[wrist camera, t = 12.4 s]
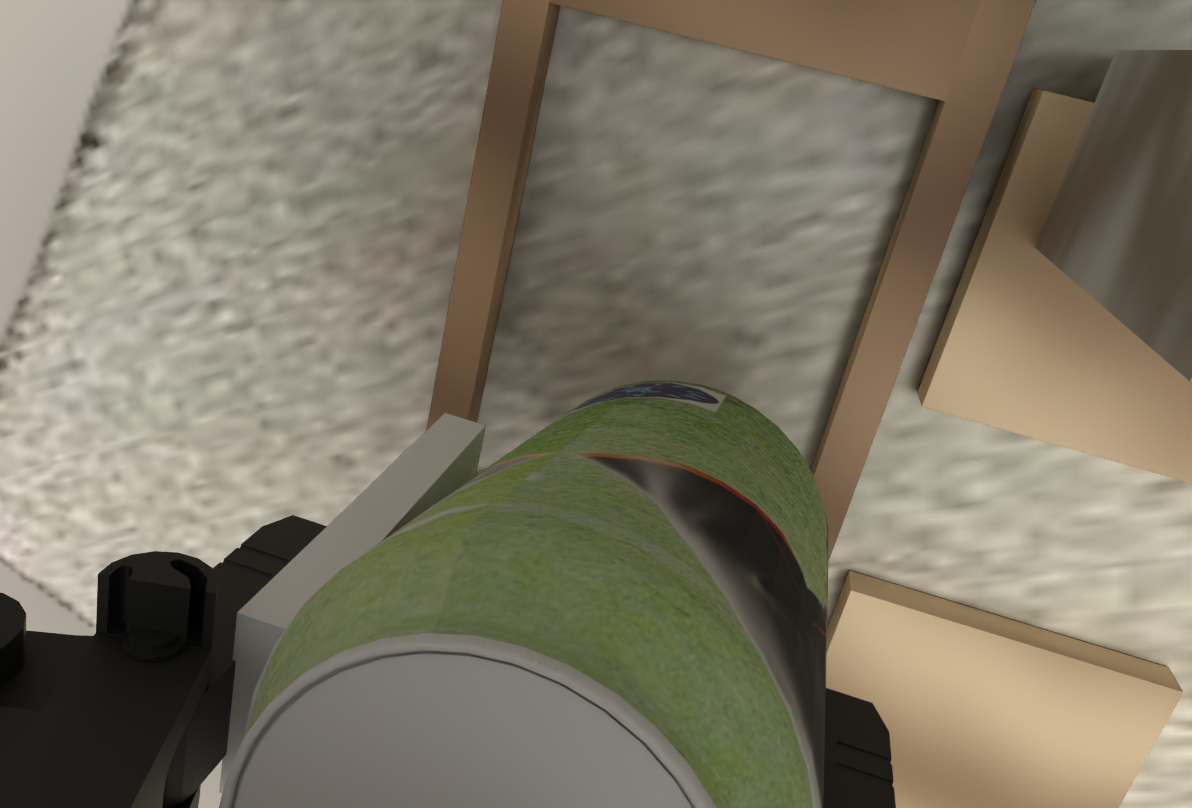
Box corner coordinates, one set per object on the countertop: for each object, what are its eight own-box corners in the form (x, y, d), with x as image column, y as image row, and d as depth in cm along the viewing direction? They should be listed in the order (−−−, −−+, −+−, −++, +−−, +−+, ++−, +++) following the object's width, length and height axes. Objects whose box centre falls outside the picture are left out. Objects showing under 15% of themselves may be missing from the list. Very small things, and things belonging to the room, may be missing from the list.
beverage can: (536, 618, 21) (176, 1197, 10) (533, 287, 19) (57, 595, 8) (830, 665, 20) (767, 1402, 9) (868, 312, 17) (843, 733, 6)
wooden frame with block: (615, -542, 18) (420, -1145, 9) (1186, -437, 17) (1622, -1001, 8) (425, 497, 27) (222, 732, 17) (801, 614, 26) (797, 931, 16)
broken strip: (1052, 38, 20) (1258, 27, 11) (1461, 137, 19) (2063, 215, 10) (759, 805, 28) (735, 1178, 19) (1040, 899, 27) (1161, 1338, 18)
